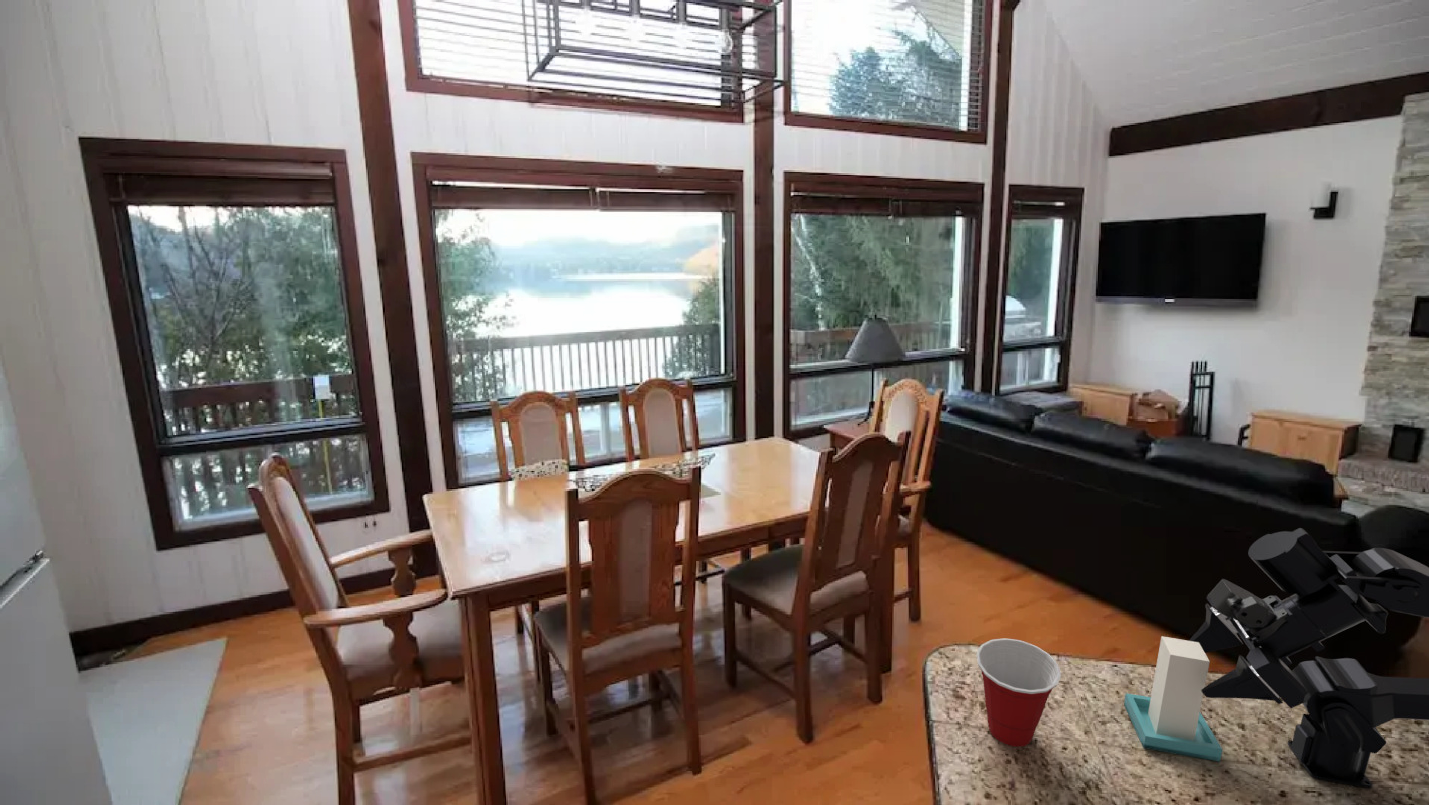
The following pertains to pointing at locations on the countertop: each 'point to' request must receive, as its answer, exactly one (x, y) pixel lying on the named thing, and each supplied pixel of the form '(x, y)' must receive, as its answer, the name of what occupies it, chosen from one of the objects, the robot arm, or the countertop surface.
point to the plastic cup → (1015, 687)
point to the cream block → (1178, 688)
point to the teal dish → (1199, 748)
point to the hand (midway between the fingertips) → (1192, 672)
